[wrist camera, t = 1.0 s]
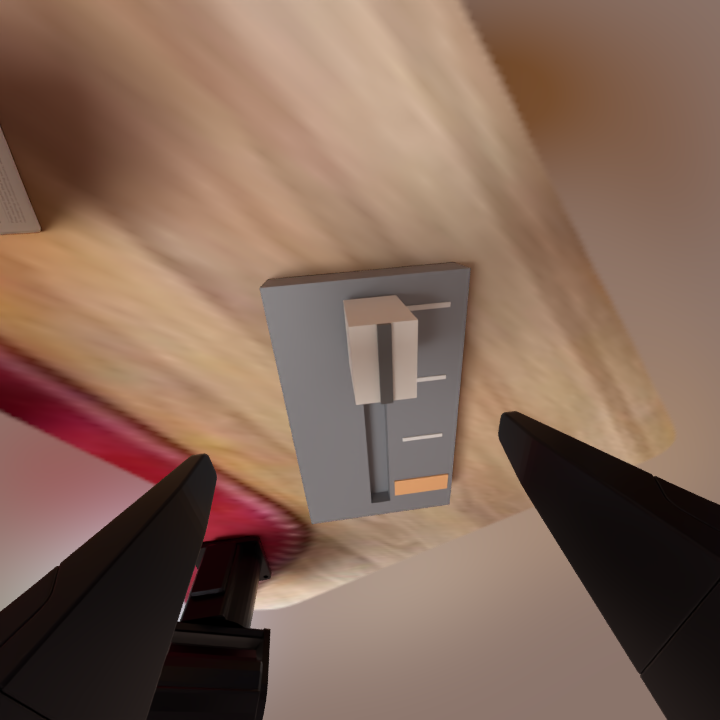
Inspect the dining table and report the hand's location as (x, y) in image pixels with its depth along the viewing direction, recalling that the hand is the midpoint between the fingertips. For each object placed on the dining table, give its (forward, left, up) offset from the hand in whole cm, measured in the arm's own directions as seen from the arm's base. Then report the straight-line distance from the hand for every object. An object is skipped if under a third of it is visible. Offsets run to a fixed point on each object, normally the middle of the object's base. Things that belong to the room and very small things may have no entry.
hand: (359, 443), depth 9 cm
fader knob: (0, -2, -11) cm, 11 cm away
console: (-7, -2, -12) cm, 14 cm away
